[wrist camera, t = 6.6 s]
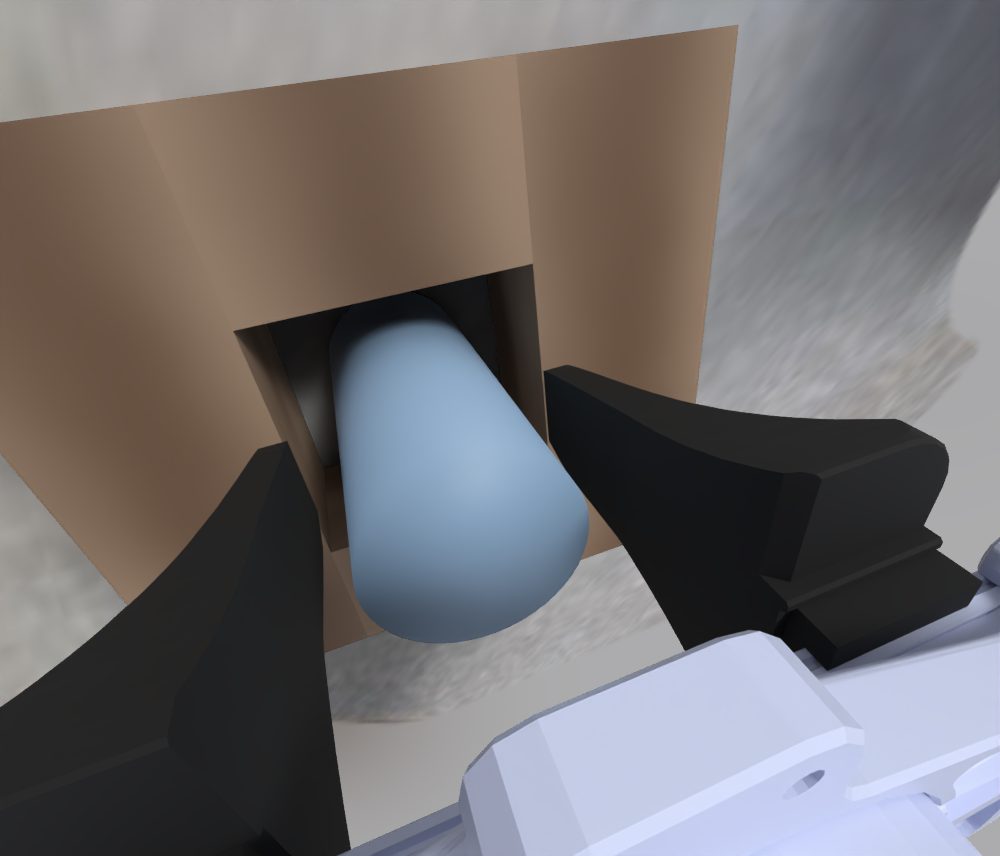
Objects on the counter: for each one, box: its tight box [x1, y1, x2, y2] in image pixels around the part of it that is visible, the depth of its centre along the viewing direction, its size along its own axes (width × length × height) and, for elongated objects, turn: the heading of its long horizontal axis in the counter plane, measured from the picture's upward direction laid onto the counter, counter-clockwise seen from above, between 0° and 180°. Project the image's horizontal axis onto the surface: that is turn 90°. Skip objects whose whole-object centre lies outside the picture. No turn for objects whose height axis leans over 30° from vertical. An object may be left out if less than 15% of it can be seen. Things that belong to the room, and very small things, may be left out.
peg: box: [329, 292, 589, 643], centre depth 12 cm, size 4×4×9 cm
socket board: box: [0, 25, 738, 653], centre depth 14 cm, size 16×14×4 cm
